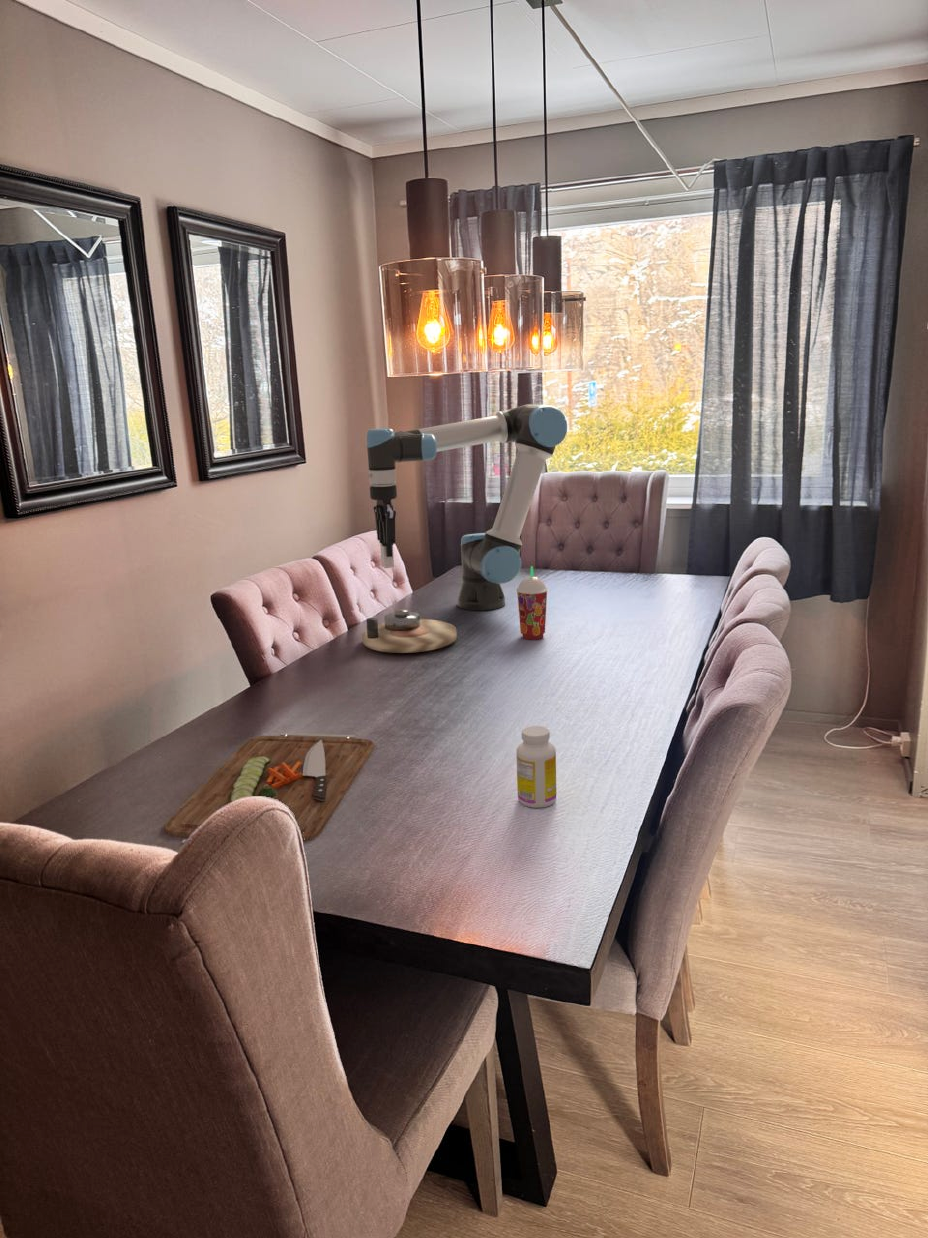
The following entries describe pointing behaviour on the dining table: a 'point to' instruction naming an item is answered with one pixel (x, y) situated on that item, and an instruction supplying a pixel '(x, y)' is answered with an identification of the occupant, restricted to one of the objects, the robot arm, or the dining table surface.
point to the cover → (402, 620)
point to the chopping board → (281, 779)
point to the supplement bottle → (536, 768)
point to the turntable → (409, 637)
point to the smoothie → (532, 607)
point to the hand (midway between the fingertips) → (387, 566)
